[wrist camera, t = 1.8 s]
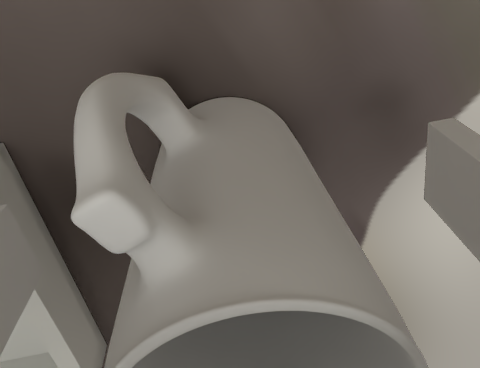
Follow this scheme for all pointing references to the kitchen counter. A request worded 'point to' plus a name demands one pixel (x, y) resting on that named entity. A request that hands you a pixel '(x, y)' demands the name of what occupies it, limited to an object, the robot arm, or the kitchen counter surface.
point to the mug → (225, 240)
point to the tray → (47, 295)
